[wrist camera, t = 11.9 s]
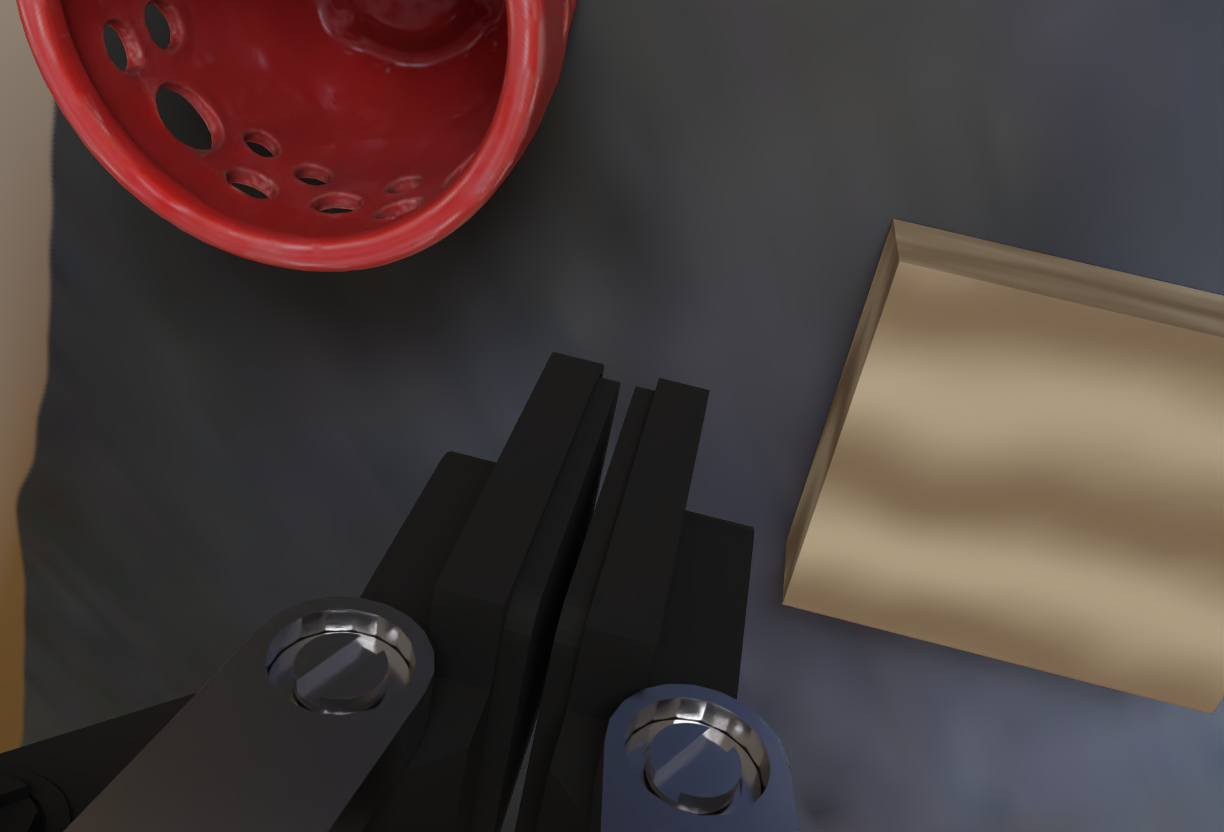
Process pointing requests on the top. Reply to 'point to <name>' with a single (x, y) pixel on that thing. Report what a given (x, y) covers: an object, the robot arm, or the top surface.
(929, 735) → the top surface
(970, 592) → the deck
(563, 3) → the plant pot
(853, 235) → the top surface
